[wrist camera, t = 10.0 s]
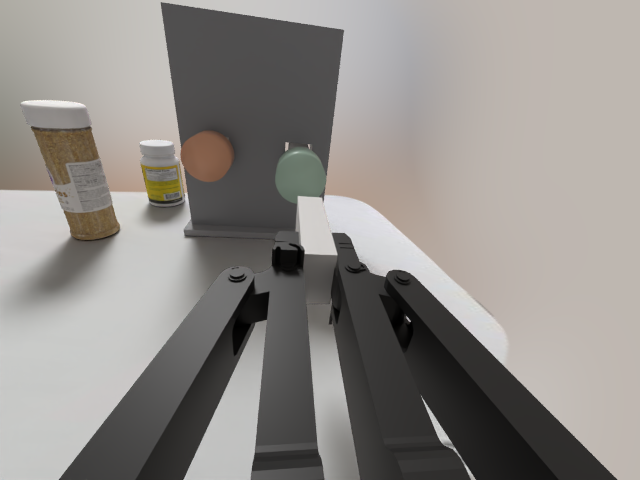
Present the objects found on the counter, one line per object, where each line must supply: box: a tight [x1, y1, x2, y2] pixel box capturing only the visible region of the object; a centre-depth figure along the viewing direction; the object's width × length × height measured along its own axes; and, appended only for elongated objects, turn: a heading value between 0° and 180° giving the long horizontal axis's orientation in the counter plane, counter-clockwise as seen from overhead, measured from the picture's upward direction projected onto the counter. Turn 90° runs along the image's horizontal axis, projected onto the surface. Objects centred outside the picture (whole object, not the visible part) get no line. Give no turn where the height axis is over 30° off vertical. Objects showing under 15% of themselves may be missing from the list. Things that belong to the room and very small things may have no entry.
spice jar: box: [20, 100, 120, 240], centre depth 28 cm, size 5×5×14 cm
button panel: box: [161, 2, 344, 239], centre depth 31 cm, size 17×7×22 cm, turn 96°
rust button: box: [181, 130, 234, 182], centre depth 31 cm, size 4×12×4 cm, turn 6°
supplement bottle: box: [140, 140, 185, 207], centre depth 38 cm, size 5×5×8 cm
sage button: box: [275, 142, 326, 204], centre depth 29 cm, size 4×12×4 cm, turn 6°
